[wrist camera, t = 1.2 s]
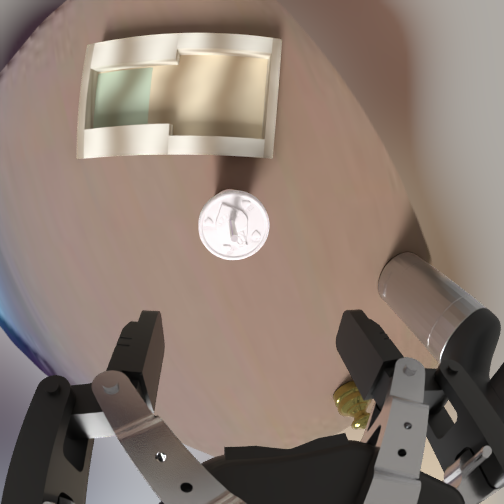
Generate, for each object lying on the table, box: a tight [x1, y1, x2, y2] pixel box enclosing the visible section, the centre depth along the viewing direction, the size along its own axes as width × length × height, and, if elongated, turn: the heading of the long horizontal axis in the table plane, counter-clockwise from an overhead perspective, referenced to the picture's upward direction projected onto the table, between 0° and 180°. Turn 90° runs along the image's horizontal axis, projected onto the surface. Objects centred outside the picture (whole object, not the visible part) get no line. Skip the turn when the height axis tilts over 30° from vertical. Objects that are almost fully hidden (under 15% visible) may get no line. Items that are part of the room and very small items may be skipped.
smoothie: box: [198, 189, 269, 260], centre depth 27 cm, size 6×6×14 cm
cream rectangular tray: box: [77, 33, 282, 159], centre depth 26 cm, size 22×14×4 cm, turn 86°
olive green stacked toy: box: [333, 381, 372, 430], centre depth 46 cm, size 7×7×10 cm
